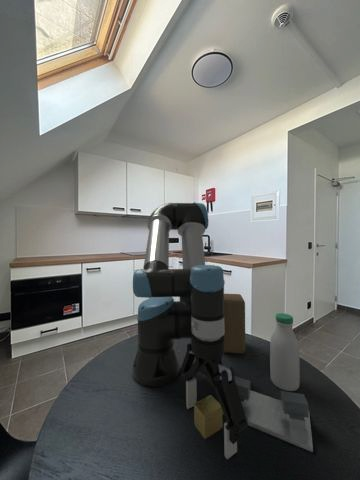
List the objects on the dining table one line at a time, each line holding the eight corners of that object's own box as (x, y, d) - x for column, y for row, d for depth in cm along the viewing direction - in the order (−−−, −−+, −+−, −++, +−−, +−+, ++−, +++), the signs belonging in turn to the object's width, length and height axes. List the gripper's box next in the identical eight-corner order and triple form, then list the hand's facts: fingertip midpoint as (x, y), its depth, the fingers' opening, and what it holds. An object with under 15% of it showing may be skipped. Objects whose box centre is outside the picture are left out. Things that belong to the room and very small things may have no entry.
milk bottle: (304, 394, 55) (303, 321, 55) (273, 390, 57) (273, 319, 57) (294, 375, 63) (293, 311, 63) (267, 372, 65) (267, 310, 64)
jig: (220, 413, 50) (220, 389, 50) (231, 387, 58) (231, 366, 58) (312, 452, 40) (312, 423, 40) (309, 414, 49) (308, 389, 49)
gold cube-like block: (205, 439, 43) (204, 416, 43) (194, 424, 47) (194, 403, 47) (222, 428, 46) (222, 406, 46) (211, 414, 49) (210, 394, 49)
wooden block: (217, 339, 86) (216, 292, 85) (241, 341, 84) (241, 293, 84) (218, 353, 76) (217, 300, 75) (245, 355, 74) (245, 300, 74)
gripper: (167, 319, 55) (168, 397, 55) (237, 369, 33) (239, 497, 33) (190, 313, 59) (191, 386, 59) (266, 355, 37) (268, 470, 37)
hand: (208, 427), depth 46 cm, fingers open, 13 cm apart
